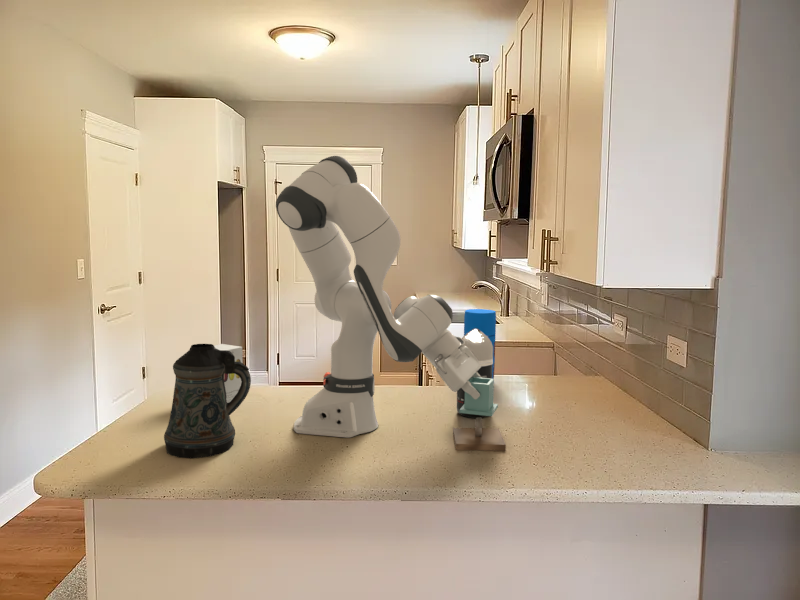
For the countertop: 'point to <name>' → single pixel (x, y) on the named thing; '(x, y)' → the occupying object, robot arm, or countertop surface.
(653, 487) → the countertop surface
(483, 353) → the black white cylinder
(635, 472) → the countertop surface
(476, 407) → the flanged sleeve
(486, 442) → the walnut post base
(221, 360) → the beer stein
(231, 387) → the supplement box
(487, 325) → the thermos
